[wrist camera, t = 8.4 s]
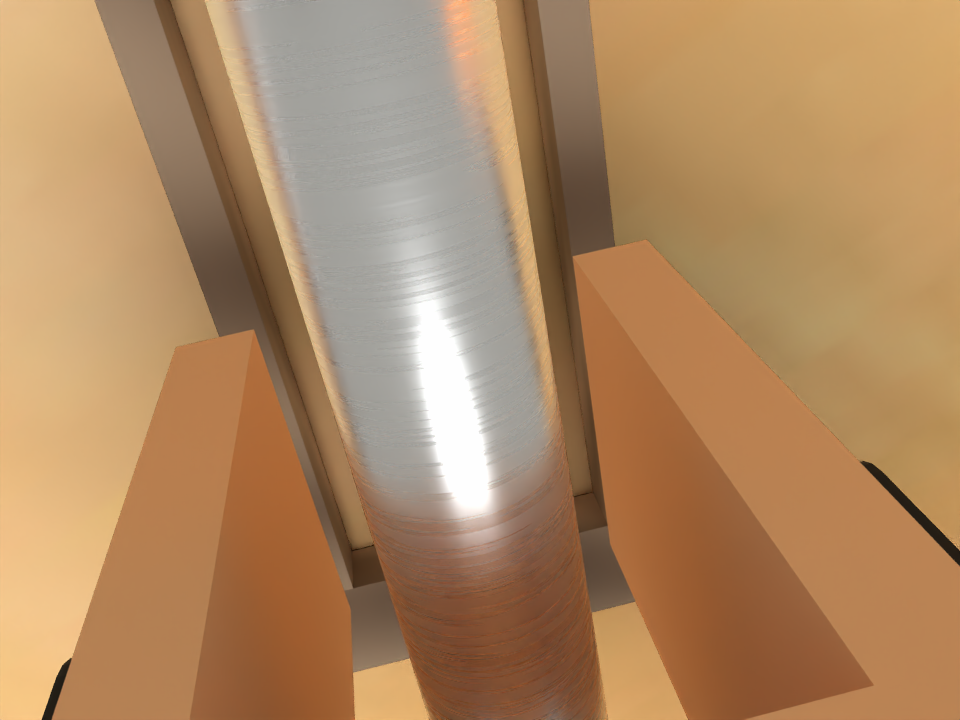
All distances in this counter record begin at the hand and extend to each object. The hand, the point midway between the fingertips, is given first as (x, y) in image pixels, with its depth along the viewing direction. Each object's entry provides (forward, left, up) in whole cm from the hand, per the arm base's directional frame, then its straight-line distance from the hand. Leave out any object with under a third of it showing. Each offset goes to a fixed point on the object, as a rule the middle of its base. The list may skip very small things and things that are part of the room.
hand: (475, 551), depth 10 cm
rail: (0, 0, +1) cm, 1 cm away
